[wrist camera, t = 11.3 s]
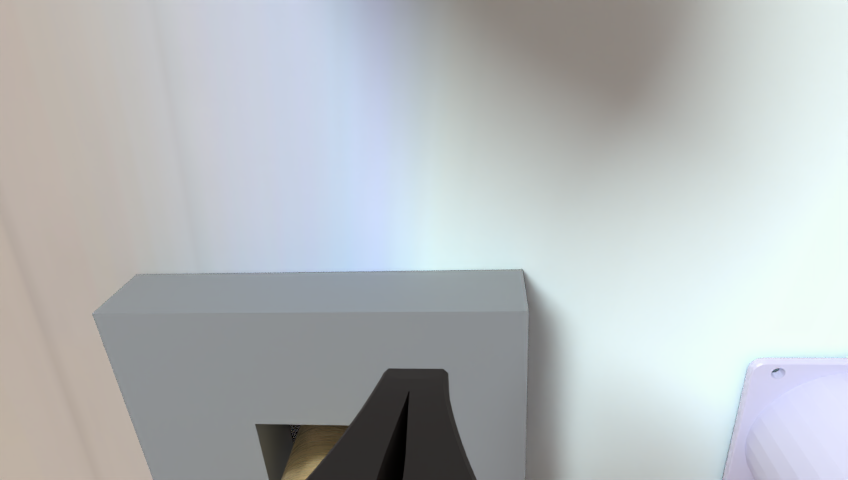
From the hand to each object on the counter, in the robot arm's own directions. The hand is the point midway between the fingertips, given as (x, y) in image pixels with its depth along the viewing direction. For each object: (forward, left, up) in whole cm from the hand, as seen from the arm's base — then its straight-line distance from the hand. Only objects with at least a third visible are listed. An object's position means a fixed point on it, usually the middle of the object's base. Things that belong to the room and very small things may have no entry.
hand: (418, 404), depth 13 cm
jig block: (+5, +10, -10) cm, 15 cm away
